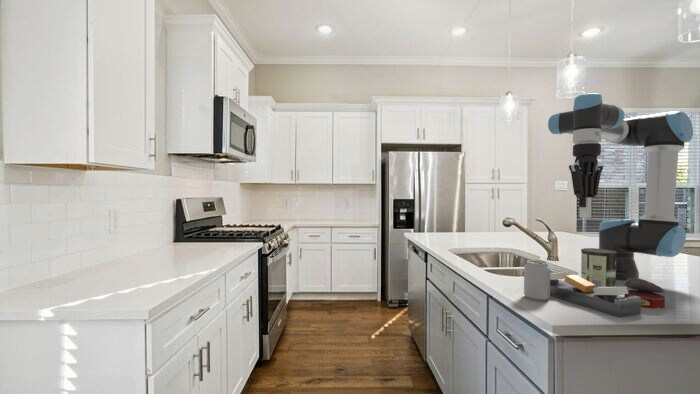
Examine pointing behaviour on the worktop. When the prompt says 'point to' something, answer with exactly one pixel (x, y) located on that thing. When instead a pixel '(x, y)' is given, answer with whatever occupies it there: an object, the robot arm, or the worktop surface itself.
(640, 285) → the canned food
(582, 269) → the coffee can
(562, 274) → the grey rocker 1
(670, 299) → the worktop surface
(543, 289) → the can
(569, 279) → the orange rectangular block
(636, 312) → the dark grey tray
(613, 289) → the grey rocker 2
